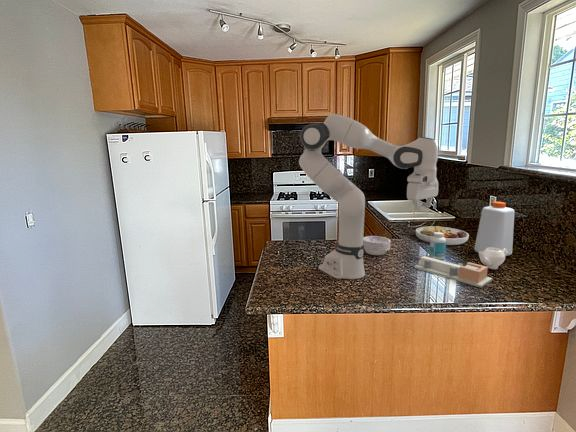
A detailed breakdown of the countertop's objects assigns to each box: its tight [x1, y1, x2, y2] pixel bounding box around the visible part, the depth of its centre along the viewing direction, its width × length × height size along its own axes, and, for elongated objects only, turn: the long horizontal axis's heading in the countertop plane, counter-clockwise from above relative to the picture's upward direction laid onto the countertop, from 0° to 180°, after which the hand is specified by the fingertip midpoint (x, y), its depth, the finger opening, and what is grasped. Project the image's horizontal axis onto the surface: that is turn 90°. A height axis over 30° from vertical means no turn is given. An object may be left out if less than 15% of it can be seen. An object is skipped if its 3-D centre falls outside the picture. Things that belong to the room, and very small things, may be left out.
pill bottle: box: [428, 232, 447, 261], centre depth 176 cm, size 8×7×14 cm
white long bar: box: [419, 255, 479, 275], centre depth 157 cm, size 25×4×4 cm, turn 41°
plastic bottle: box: [473, 201, 515, 257], centre depth 183 cm, size 15×15×28 cm
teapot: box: [478, 247, 508, 270], centre depth 163 cm, size 10×20×9 cm, turn 112°
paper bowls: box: [363, 235, 391, 256], centre depth 186 cm, size 15×15×8 cm
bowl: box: [415, 225, 470, 246], centre depth 211 cm, size 30×30×8 cm
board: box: [414, 257, 493, 289], centre depth 156 cm, size 30×12×6 cm, turn 41°
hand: (422, 208), depth 147 cm, fingers open, 8 cm apart
